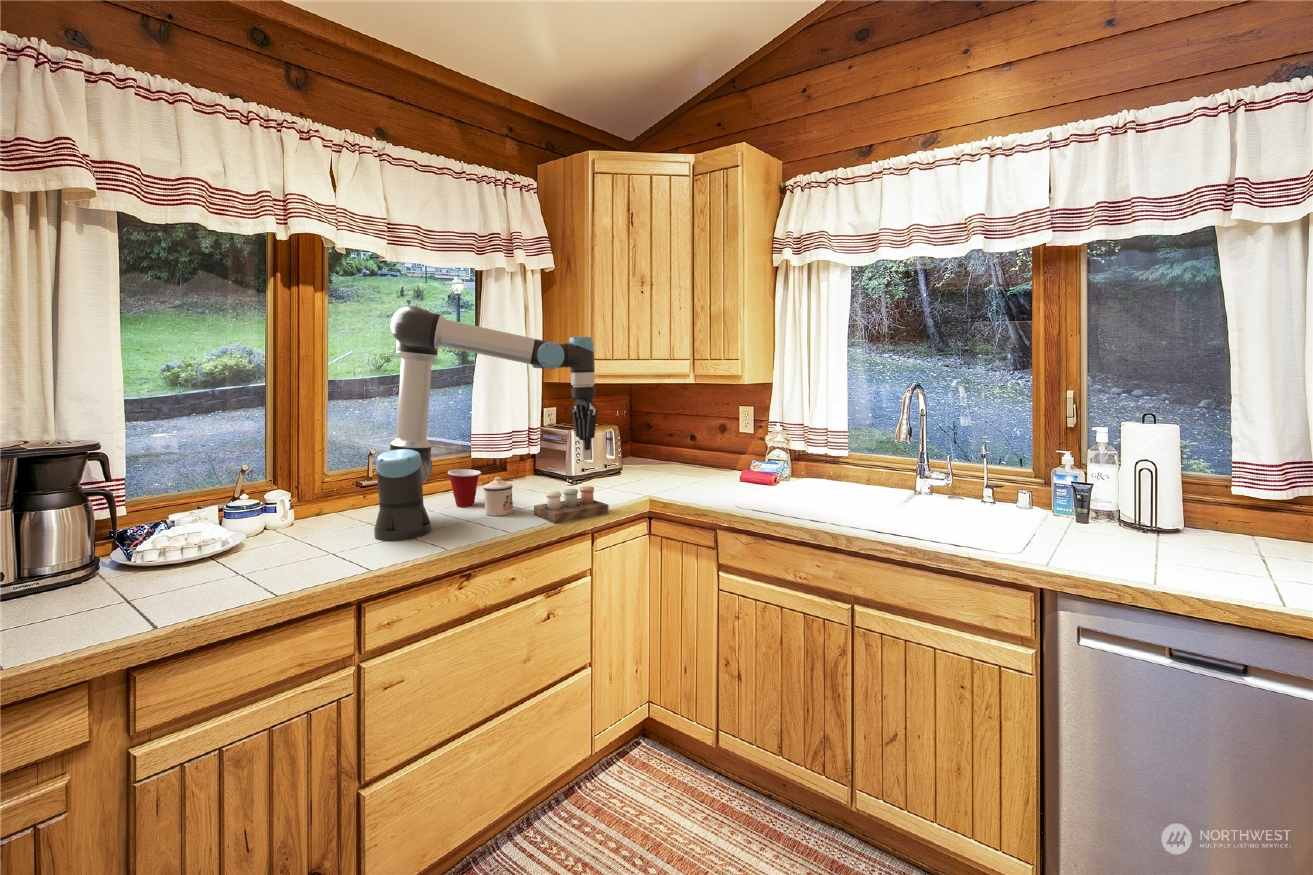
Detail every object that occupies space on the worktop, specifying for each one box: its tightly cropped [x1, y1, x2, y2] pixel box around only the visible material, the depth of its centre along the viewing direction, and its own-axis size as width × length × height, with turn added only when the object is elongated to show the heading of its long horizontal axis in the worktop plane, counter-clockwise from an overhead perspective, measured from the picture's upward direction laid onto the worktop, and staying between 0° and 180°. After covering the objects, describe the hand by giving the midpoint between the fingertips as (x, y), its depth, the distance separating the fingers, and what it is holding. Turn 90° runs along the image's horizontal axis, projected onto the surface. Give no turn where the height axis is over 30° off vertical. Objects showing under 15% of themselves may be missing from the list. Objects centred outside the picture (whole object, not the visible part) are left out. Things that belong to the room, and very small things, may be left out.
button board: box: [533, 497, 609, 525], centre depth 195 cm, size 19×14×3 cm
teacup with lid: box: [483, 476, 514, 517], centre depth 199 cm, size 12×9×12 cm
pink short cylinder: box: [579, 485, 595, 505], centre depth 199 cm, size 5×5×5 cm
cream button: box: [545, 490, 562, 511], centre depth 191 cm, size 5×5×5 cm
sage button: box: [562, 488, 579, 508], centre depth 195 cm, size 5×5×5 cm
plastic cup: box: [447, 468, 482, 508], centre depth 209 cm, size 11×11×12 cm
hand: (585, 459), depth 197 cm, fingers closed
